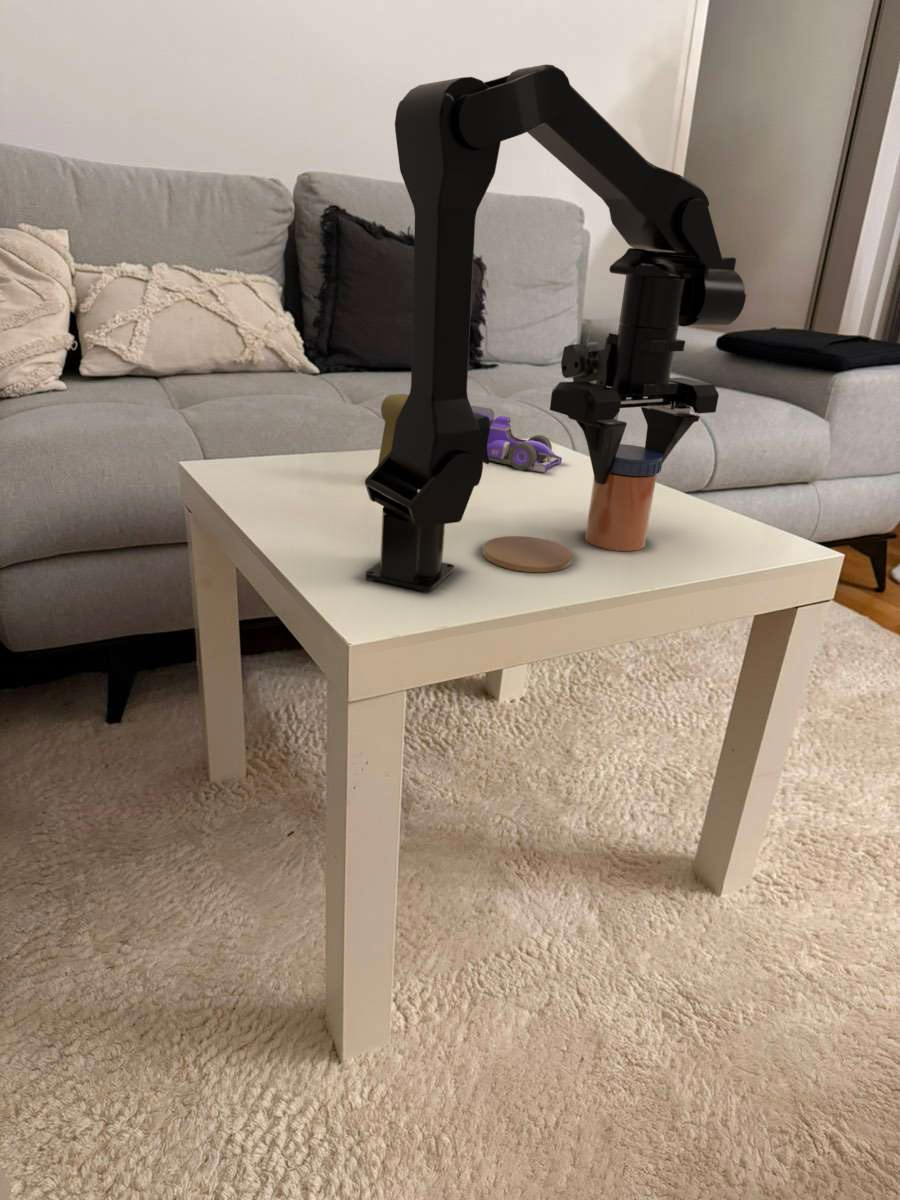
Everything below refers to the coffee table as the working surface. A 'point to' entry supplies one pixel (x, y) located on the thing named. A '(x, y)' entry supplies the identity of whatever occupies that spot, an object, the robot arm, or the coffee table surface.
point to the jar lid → (636, 461)
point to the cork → (390, 420)
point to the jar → (620, 512)
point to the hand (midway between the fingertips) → (624, 480)
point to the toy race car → (516, 445)
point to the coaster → (527, 554)
